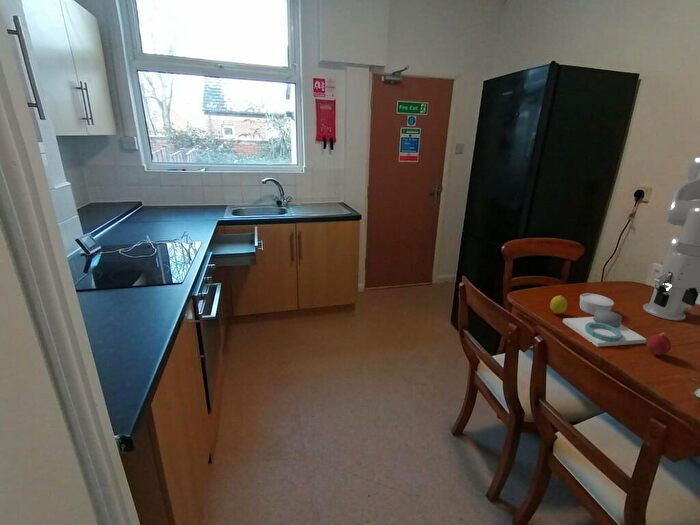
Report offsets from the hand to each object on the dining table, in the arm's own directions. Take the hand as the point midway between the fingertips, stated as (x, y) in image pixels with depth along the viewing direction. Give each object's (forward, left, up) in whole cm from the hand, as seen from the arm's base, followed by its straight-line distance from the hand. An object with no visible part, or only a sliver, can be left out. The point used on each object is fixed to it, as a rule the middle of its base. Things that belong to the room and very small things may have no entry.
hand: (673, 304), depth 102 cm
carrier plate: (+6, -14, -18) cm, 23 cm away
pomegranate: (0, 0, -18) cm, 18 cm away
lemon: (+13, -28, -18) cm, 36 cm away
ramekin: (-4, -29, -18) cm, 35 cm away
